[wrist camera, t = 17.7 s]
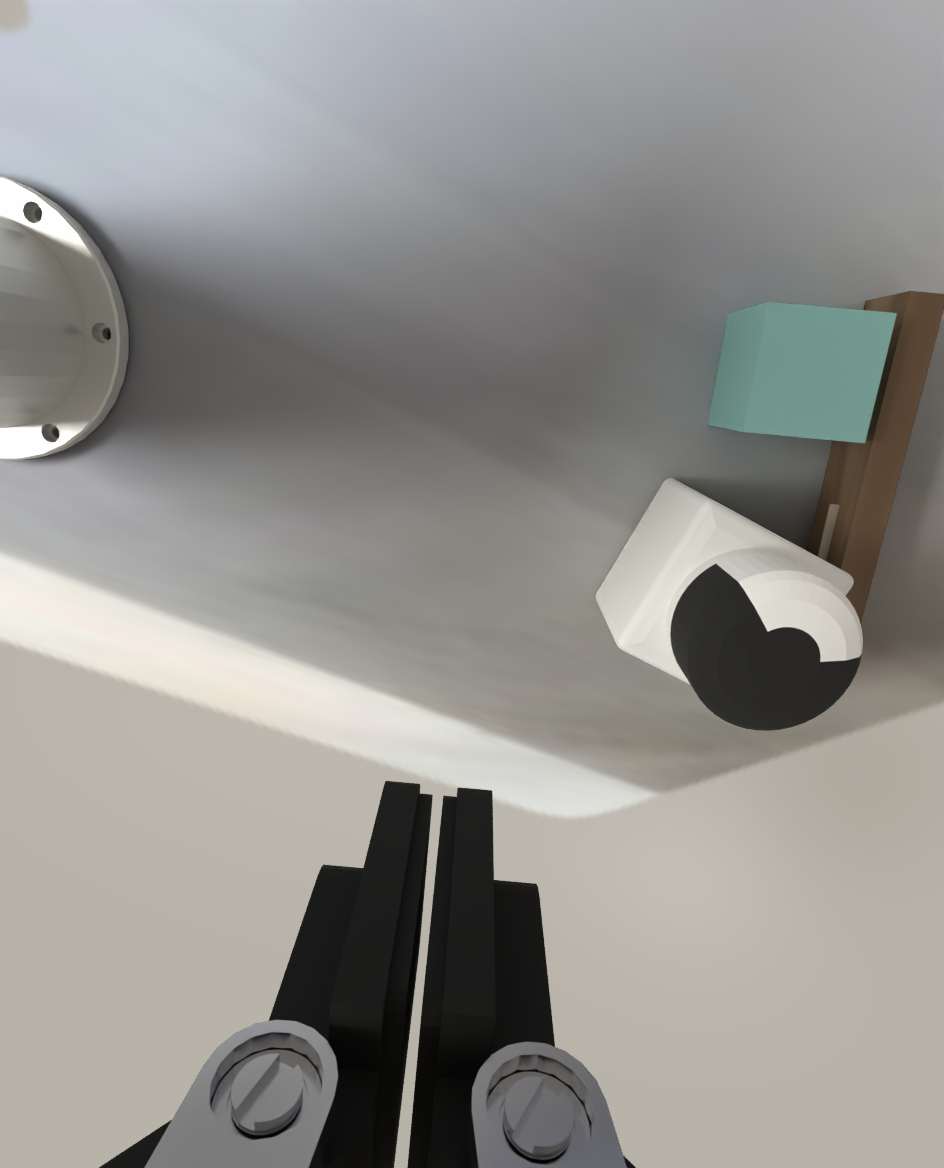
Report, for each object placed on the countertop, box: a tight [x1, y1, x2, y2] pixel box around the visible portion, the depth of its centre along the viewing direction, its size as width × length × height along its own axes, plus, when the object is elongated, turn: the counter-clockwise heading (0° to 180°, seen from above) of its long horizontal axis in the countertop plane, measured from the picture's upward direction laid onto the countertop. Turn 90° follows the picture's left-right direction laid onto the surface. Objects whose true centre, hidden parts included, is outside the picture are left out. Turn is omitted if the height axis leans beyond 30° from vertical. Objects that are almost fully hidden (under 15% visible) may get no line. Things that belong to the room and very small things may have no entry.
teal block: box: [708, 302, 897, 443], centre depth 30 cm, size 5×5×5 cm
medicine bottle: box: [596, 478, 863, 731], centre depth 29 cm, size 7×7×12 cm
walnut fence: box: [807, 291, 944, 623], centre depth 32 cm, size 2×17×4 cm, turn 175°
